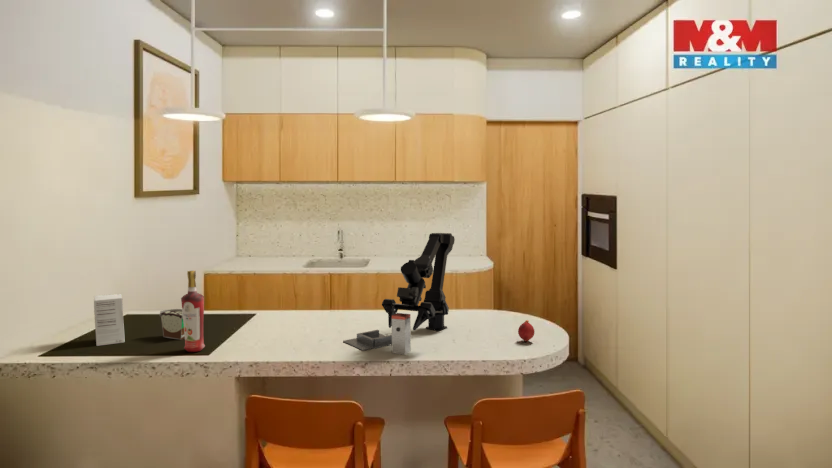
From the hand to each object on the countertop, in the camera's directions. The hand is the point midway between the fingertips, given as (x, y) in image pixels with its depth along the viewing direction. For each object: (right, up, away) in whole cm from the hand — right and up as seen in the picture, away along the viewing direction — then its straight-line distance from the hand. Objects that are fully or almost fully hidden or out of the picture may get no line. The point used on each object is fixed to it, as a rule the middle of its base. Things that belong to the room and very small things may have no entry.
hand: (401, 328), depth 188 cm
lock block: (0, -8, 0) cm, 8 cm away
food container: (-86, -7, +22) cm, 89 cm away
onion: (+45, -7, +12) cm, 47 cm away
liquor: (-73, -8, +3) cm, 73 cm away
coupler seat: (-11, -7, +12) cm, 18 cm away
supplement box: (-109, -8, +16) cm, 110 cm away
